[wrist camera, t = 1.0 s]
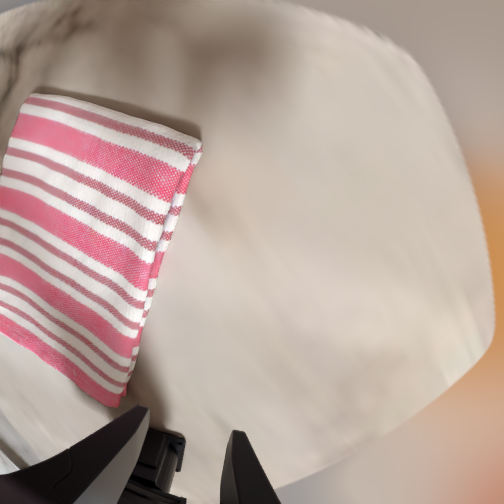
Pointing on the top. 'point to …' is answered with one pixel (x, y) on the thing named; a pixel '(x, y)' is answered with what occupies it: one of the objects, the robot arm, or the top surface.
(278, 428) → the top surface
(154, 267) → the dish towel
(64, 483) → the robot arm
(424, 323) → the top surface
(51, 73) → the top surface
